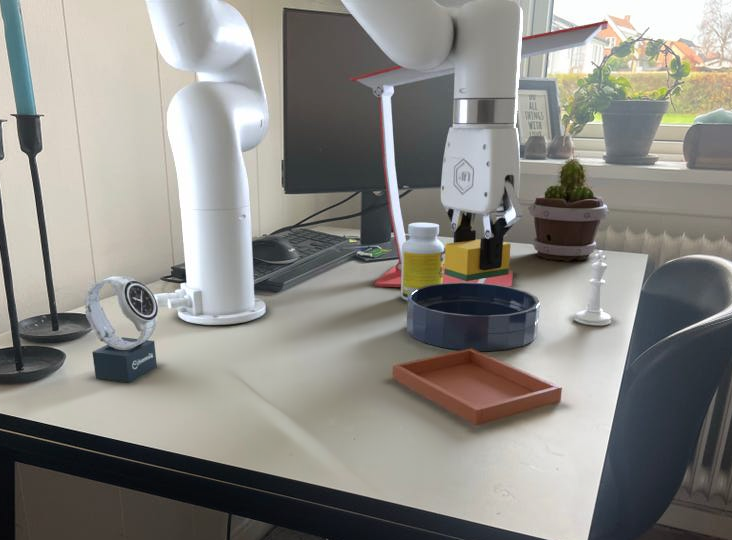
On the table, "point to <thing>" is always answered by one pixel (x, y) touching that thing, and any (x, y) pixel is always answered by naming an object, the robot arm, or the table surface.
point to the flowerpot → (567, 216)
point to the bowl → (472, 316)
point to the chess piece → (595, 297)
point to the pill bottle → (421, 258)
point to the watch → (123, 354)
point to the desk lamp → (401, 75)
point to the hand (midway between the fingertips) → (476, 263)
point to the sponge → (471, 261)
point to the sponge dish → (476, 385)
